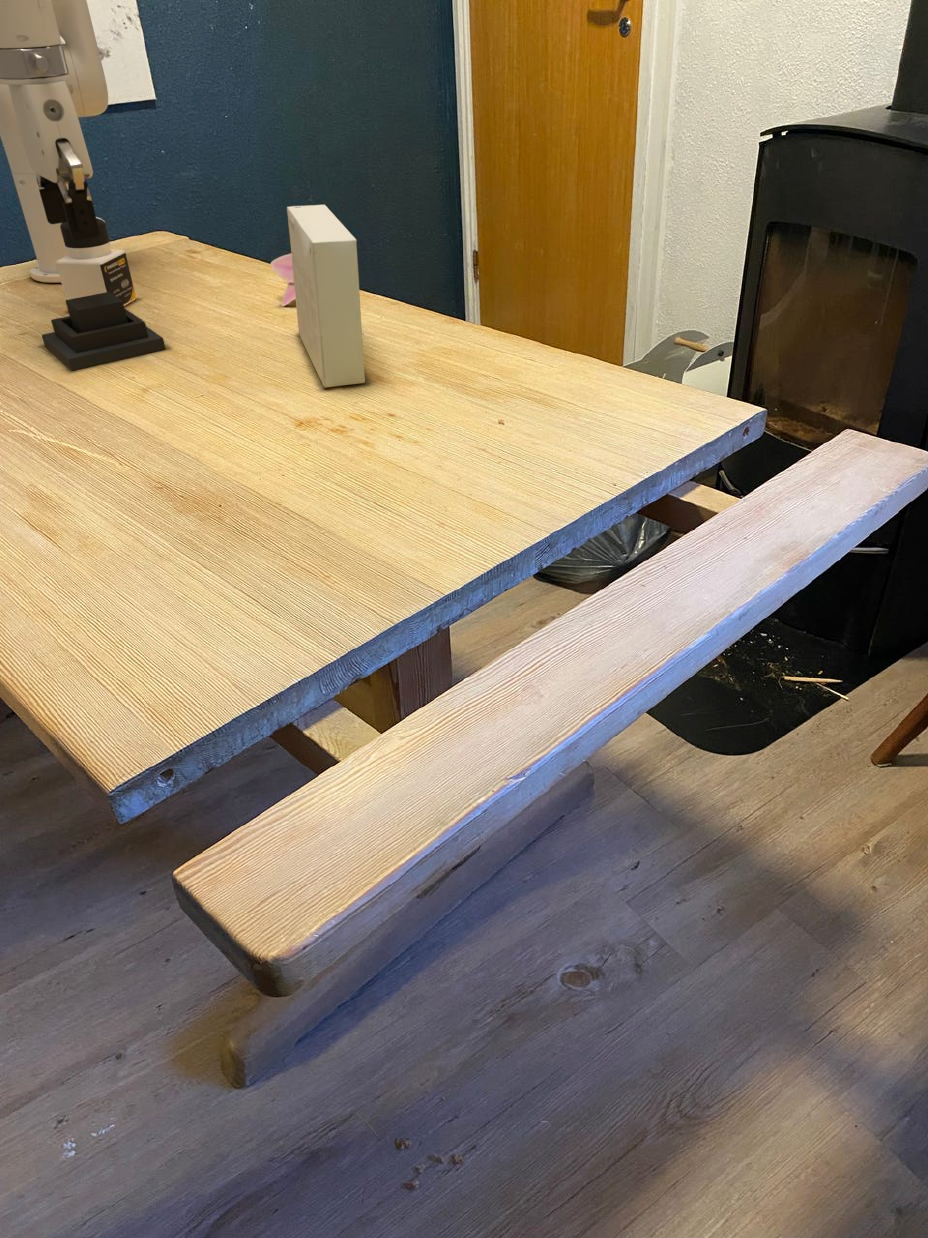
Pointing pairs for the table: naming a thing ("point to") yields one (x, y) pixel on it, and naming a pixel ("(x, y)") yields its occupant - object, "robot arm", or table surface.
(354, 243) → the skincare box
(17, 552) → the table surface
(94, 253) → the medicine bottle
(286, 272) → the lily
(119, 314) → the black block
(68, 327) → the base pad
